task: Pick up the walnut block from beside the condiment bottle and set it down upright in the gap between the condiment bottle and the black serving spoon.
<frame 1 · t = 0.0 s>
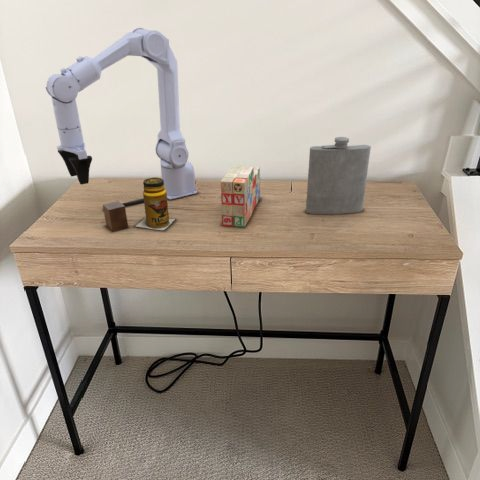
hand: (79, 179, 136), 10 cm above the table, tool pointing down, fingers open, 7 cm apart
walnut block: (117, 226, 135), on the table
stack of blocks: (242, 211, 143), on the table
hip flask: (334, 211, 142), on the table
condiment: (155, 224, 136), on the table
serving spoon: (112, 209, 145), on the table
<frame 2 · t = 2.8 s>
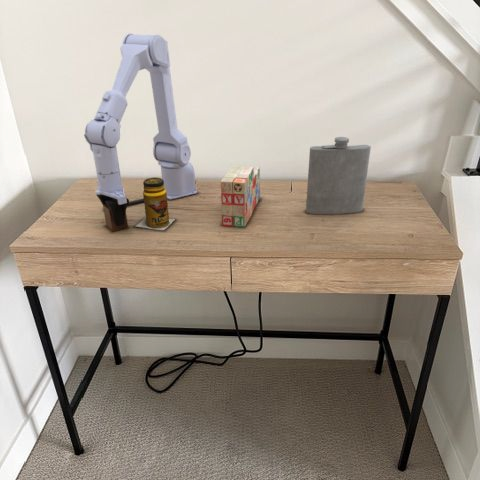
hand: (116, 221, 134), 1 cm above the table, tool pointing down, fingers closed on walnut block, 4 cm apart
walnut block: (117, 226, 135), on the table, touching gripper
everything else where it was.
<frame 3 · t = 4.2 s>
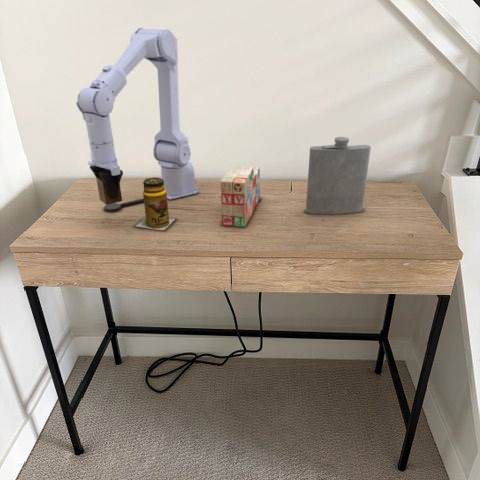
hand: (110, 195, 131), 8 cm above the table, tool pointing down, fingers closed on walnut block, 4 cm apart
walnut block: (111, 200, 132), point 7 cm above the table, touching gripper
everything else where it was.
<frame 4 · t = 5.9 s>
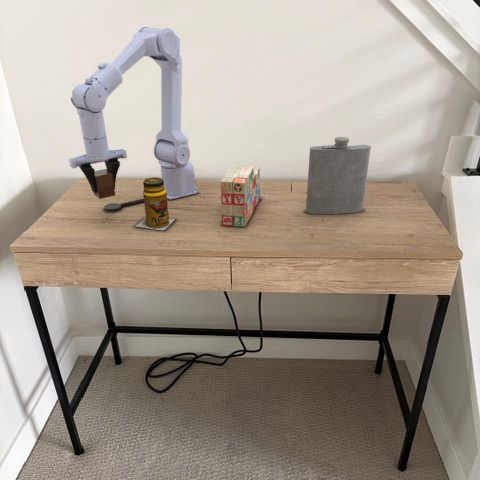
hand: (103, 189, 134), 8 cm above the table, tool pointing down, fingers closed on walnut block, 4 cm apart
walnut block: (104, 194, 135), point 7 cm above the table, touching gripper
everything else where it was.
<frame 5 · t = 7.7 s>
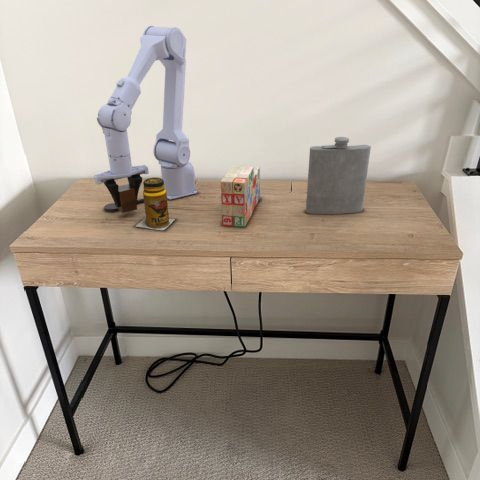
hand: (126, 204, 140), 3 cm above the table, tool pointing down, fingers closed on walnut block, 4 cm apart
walnut block: (126, 208, 140), point 2 cm above the table, touching gripper
everything else where it was.
when the fingers open (1 cm above the table, at t = 8.8 s): walnut block stays where it is, on the table.
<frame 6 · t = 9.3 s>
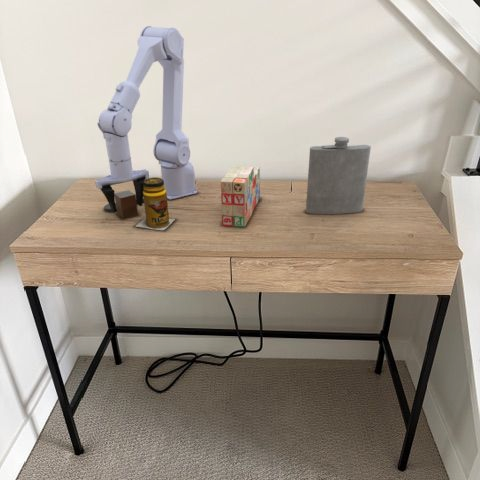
hand: (127, 208, 140), 2 cm above the table, tool pointing down, fingers open, 7 cm apart
walnut block: (127, 214, 141), on the table
everything else where it was.
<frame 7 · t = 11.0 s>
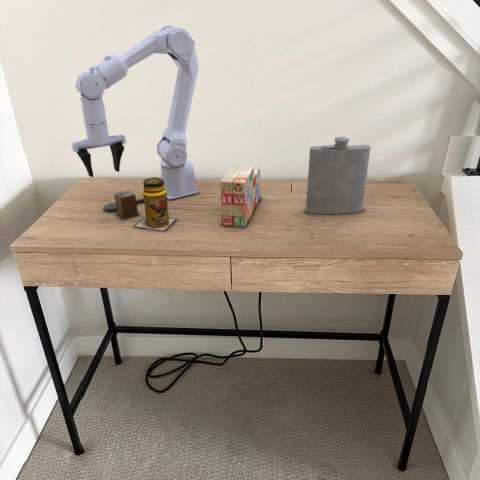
hand: (104, 173, 142), 9 cm above the table, tool pointing down, fingers open, 7 cm apart
nothing on the table moved.
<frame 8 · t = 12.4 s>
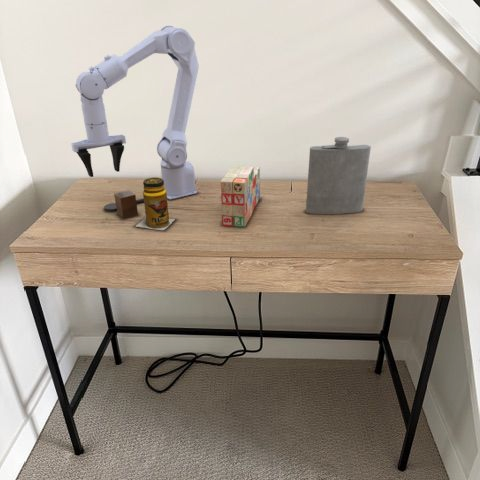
hand: (104, 173, 142), 9 cm above the table, tool pointing down, fingers open, 7 cm apart
nothing on the table moved.
at the end: walnut block 0.1 cm from the target spot, on the table; walnut block tilted 0°; the gripper is holding nothing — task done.
